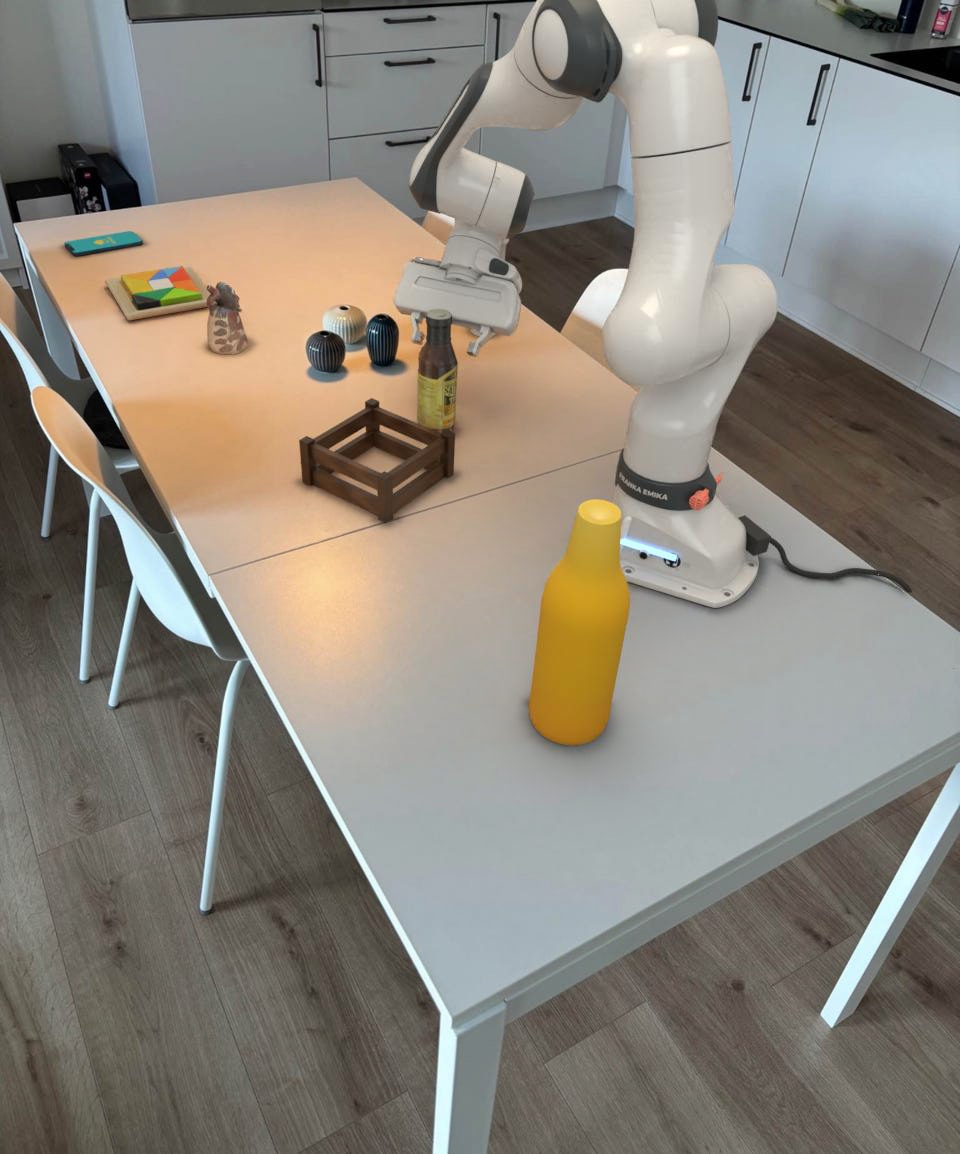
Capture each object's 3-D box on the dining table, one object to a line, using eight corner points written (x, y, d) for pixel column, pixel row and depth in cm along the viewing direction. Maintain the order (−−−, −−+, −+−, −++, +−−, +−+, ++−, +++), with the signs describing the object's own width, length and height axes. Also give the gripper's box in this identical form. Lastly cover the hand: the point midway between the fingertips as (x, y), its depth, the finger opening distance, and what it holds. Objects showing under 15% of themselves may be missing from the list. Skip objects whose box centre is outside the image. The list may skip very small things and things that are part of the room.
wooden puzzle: (130, 324, 183) (126, 307, 181) (104, 287, 195) (101, 270, 193) (220, 308, 190) (218, 291, 188) (190, 273, 203) (187, 256, 200)
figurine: (253, 351, 177) (246, 287, 170) (214, 357, 175) (205, 293, 167) (242, 334, 182) (235, 272, 174) (204, 340, 180) (195, 277, 172)
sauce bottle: (450, 442, 156) (454, 326, 144) (412, 436, 157) (413, 321, 145) (459, 422, 161) (463, 308, 149) (422, 416, 162) (423, 303, 150)
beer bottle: (529, 747, 108) (554, 539, 90) (526, 686, 115) (548, 482, 97) (612, 749, 108) (654, 542, 90) (603, 689, 115) (641, 486, 97)
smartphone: (143, 240, 213) (74, 252, 205) (144, 244, 213) (74, 256, 206) (131, 230, 217) (63, 241, 210) (132, 234, 218) (63, 245, 210)
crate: (453, 474, 149) (455, 432, 145) (386, 523, 139) (385, 479, 134) (372, 438, 156) (371, 397, 151) (302, 482, 146) (298, 440, 141)
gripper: (402, 246, 153) (377, 328, 153) (525, 269, 149) (500, 355, 148) (413, 263, 160) (389, 343, 159) (532, 287, 155) (508, 369, 154)
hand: (443, 349), depth 153 cm, fingers open, 8 cm apart
